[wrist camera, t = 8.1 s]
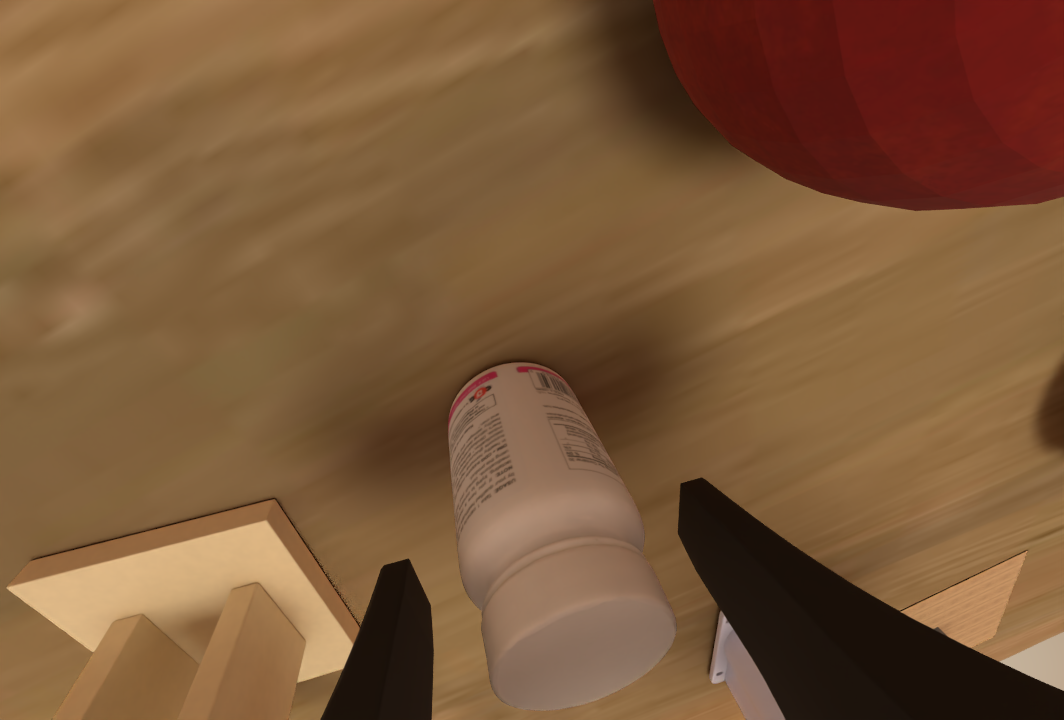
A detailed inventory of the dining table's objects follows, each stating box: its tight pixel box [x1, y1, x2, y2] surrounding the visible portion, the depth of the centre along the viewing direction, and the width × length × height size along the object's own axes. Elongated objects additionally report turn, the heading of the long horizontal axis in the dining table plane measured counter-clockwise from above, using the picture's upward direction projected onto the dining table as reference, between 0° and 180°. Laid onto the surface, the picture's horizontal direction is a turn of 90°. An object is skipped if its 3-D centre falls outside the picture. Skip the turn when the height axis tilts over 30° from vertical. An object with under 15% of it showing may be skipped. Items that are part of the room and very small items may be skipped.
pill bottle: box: [448, 362, 677, 711], centre depth 12 cm, size 5×5×8 cm
